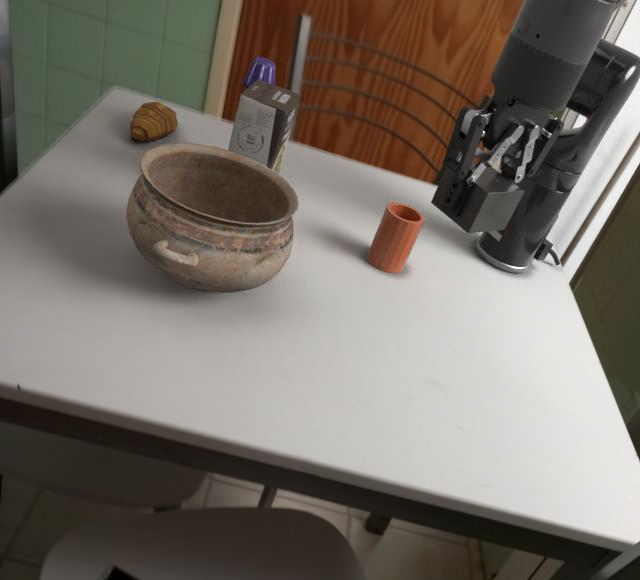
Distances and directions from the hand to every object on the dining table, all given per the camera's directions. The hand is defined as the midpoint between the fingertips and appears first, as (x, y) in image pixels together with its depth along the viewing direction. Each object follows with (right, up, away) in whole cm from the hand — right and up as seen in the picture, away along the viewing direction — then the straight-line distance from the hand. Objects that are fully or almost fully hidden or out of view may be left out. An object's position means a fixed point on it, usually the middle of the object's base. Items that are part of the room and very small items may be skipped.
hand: (470, 211), depth 72 cm
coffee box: (-27, +9, +27) cm, 39 cm away
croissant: (-42, +23, +35) cm, 59 cm away
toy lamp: (-29, +17, +34) cm, 48 cm away
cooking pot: (-30, -5, +10) cm, 32 cm away
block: (0, 0, 0) cm, 1 cm away
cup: (-6, +1, +28) cm, 28 cm away
